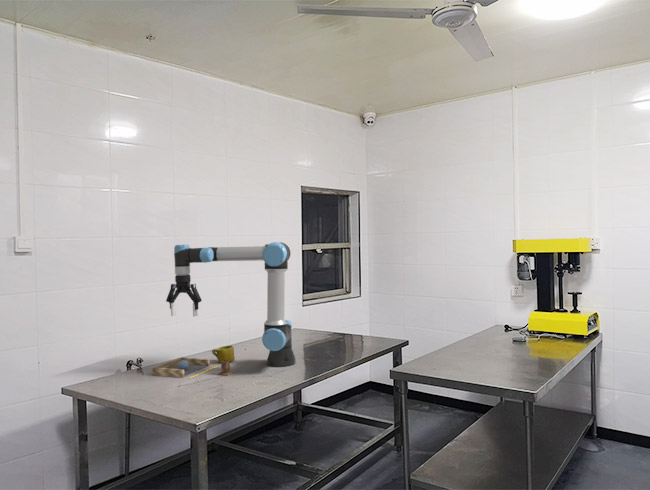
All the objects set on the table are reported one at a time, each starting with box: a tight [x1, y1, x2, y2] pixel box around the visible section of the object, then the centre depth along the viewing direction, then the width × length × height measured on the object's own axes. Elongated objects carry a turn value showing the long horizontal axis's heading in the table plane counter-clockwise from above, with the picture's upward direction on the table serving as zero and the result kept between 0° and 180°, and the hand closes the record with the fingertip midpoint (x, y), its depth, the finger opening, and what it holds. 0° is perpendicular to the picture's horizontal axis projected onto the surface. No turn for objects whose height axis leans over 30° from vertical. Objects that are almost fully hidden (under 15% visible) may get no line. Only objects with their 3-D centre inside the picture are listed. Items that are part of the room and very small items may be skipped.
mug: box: [211, 345, 235, 364], centre depth 271 cm, size 12×10×10 cm
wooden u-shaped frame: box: [151, 356, 211, 378], centre depth 255 cm, size 18×23×4 cm
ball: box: [179, 360, 189, 370], centre depth 254 cm, size 5×5×5 cm
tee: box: [217, 360, 235, 377], centre depth 245 cm, size 6×6×6 cm
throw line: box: [188, 365, 218, 379], centre depth 250 cm, size 1×24×1 cm, turn 159°
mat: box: [170, 364, 208, 377], centre depth 255 cm, size 16×20×1 cm
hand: (184, 315), depth 254 cm, fingers open, 13 cm apart
